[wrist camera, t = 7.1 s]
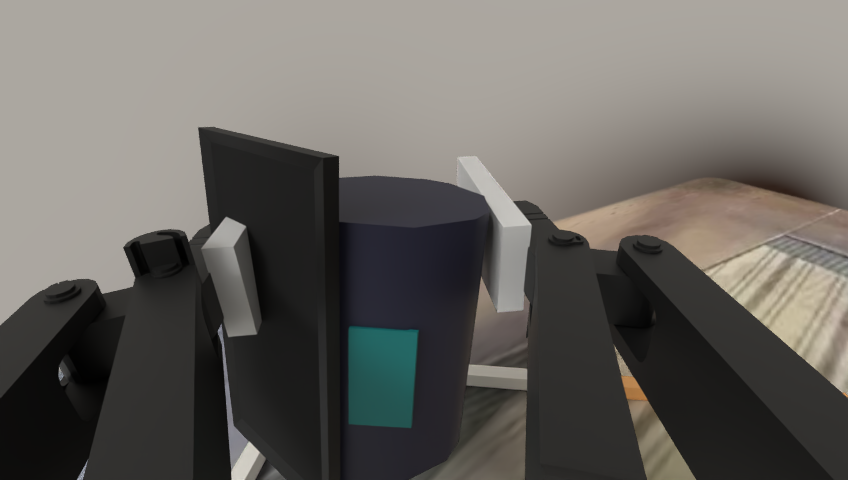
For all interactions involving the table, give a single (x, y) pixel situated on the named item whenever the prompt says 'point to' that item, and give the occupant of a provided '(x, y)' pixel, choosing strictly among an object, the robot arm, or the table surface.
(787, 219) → the table surface
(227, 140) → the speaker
